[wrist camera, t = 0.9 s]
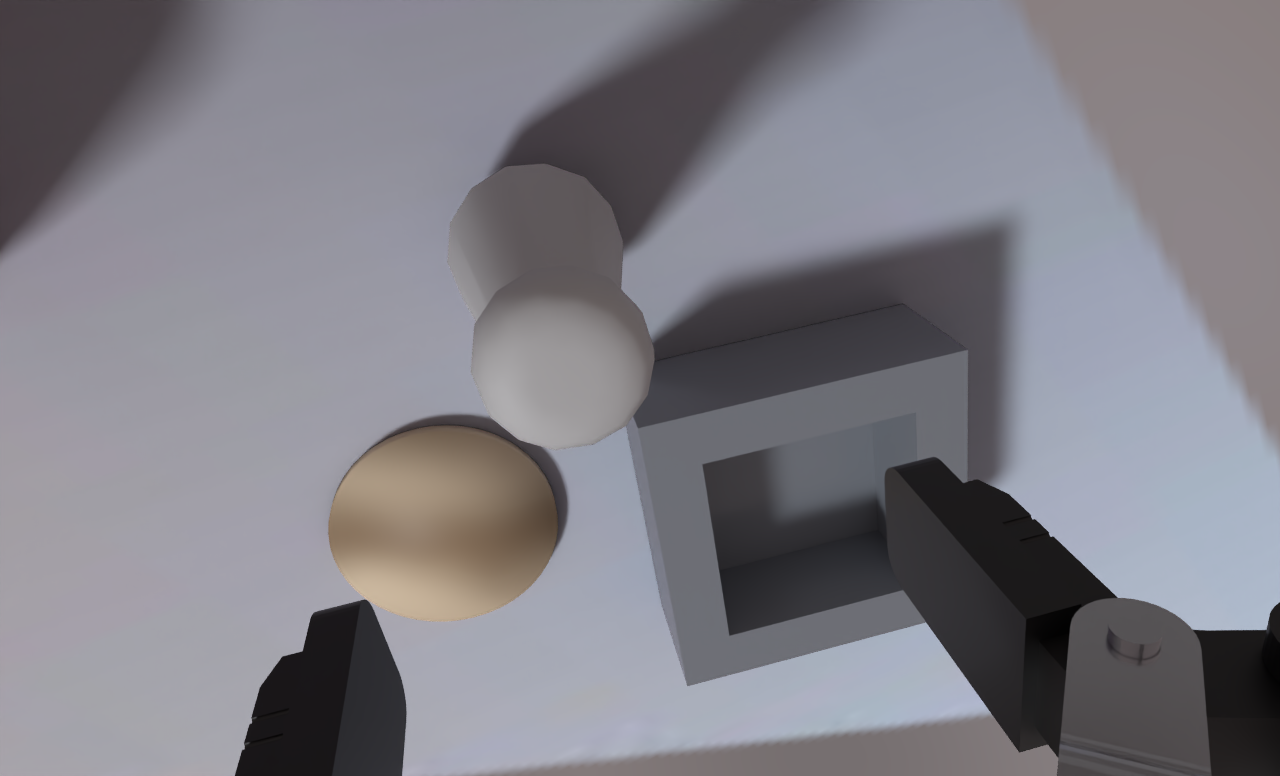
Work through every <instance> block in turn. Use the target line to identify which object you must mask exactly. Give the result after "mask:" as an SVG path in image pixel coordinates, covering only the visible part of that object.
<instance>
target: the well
mask: <svg viewBox="0 0 1280 776" xmlns="http://www.w3.org/2000/svg"><path fill="white" fill-rule="evenodd" d="M626 428H627V433H628V438H629V443H630V448H631V453H632V458H633V463H634V468H635V473H636V478H637V483H638V488H639V493H640V498H641V503H642V508H643V513H644V518H645V523H646V528H647V534H648V539H649V544H650V549H651V554H652V559H653V564H654V569H655V574H656V579H657V584H658V589H659V594H660V599H661V604H662V608H663V611H664V614H665V617H666V621H667V624H668V627H669V630H670V633H671V636H672V639H673V643H674V646H675V649H676V652H677V655H678V658H679V661H680V665H681V668H682V671H683V674H684V677H685V680H686V683H687V686H690V685H694V684H698V683H701V682H705V681H709V680H713V679H716V678H720V677H724V676H727V675H731V674H735V673H739V672H742V671H746V670H750V669H754V668H757V667H761V666H765V665H769V664H772V663H776V662H780V661H783V660H787V659H791V658H795V657H798V656H802V655H806V654H810V653H813V652H817V651H821V650H825V649H828V648H832V647H836V646H839V645H843V644H847V643H851V642H854V641H858V640H862V639H866V638H869V637H873V636H877V635H880V634H884V633H888V632H892V631H895V630H899V629H903V628H907V627H910V626H914V625H918V624H922V623H925V622H926V621H925V620H924V618H923V617H922V616H921V614H920V613H919V611H918V610H917V609H916V607H915V606H914V604H913V603H912V602H911V600H910V599H909V597H908V596H907V595H906V593H905V592H904V590H903V589H902V588H901V586H900V584H899V583H898V581H897V579H896V577H895V574H894V572H893V569H892V566H891V563H890V559H889V555H888V548H887V529H886V507H885V485H884V478H885V472H886V470H887V469H888V468H891V467H895V466H899V465H903V464H907V463H911V462H914V461H918V460H922V459H926V458H930V457H937V458H938V459H940V460H941V461H942V462H943V463H944V464H945V465H946V466H947V467H948V468H949V469H950V470H951V471H952V472H953V473H954V474H955V475H956V476H957V477H958V478H959V479H960V480H961V481H962V482H963V483H965V482H968V349H966V348H965V347H963V346H962V345H961V344H959V343H958V342H956V341H955V340H954V339H952V338H951V337H949V336H948V335H947V334H945V333H944V332H942V331H941V330H940V329H938V328H937V327H935V326H934V325H933V324H931V323H930V322H928V321H927V320H925V319H924V318H923V317H921V316H920V315H918V314H917V313H916V312H914V311H913V310H911V309H910V308H909V307H907V306H906V305H904V304H901V305H896V306H892V307H888V308H883V309H879V310H875V311H870V312H866V313H862V314H857V315H853V316H849V317H844V318H840V319H836V320H831V321H827V322H823V323H818V324H814V325H810V326H806V327H801V328H797V329H793V330H788V331H784V332H780V333H775V334H771V335H767V336H762V337H758V338H754V339H749V340H745V341H741V342H736V343H732V344H728V345H723V346H719V347H715V348H710V349H706V350H702V351H697V352H693V353H689V354H684V355H680V356H676V357H671V358H667V359H663V360H658V361H654V365H653V370H652V376H651V381H650V386H649V391H648V395H647V397H646V398H645V400H644V401H643V403H642V404H641V405H640V407H639V408H638V410H637V411H636V413H635V414H634V415H633V417H632V418H631V420H630V421H629V422H628V424H627V425H626Z"/></svg>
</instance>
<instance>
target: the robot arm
mask: <svg viewBox="0 0 1280 776" xmlns="http://www.w3.org/2000/svg"><path fill="white" fill-rule="evenodd" d="M884 485H885V507H886V529H887V548H888V555H889V559H890V563H891V566H892V569H893V572H894V574H895V577H896V579H897V581H898V583H899V584H900V586H901V588H902V589H903V590H904V592H905V593H906V595H907V596H908V597H909V599H910V600H911V602H912V603H913V604H914V606H915V607H916V609H917V610H918V611H919V613H920V614H921V616H922V617H923V618H924V620H925V621H926V623H927V624H928V625H929V627H930V628H931V630H932V631H933V632H934V634H935V635H936V637H937V638H938V639H939V641H940V642H941V644H942V645H943V646H944V648H945V649H946V651H947V652H948V653H949V655H950V656H951V658H952V659H953V660H954V662H955V663H956V665H957V666H958V667H959V669H960V670H961V672H962V673H963V674H964V676H965V677H966V679H967V680H968V681H969V683H970V684H971V686H972V687H973V688H974V690H975V691H976V693H977V694H978V695H979V697H980V698H981V700H982V701H983V702H984V704H985V705H986V707H987V708H988V709H989V711H990V712H991V714H992V715H993V716H994V718H995V719H996V721H997V722H998V723H999V725H1000V726H1001V728H1002V729H1003V730H1004V732H1005V733H1006V734H1007V736H1008V737H1009V739H1010V740H1011V742H1013V744H1014V746H1015V747H1016V748H1017V750H1018V751H1019V752H1023V751H1026V750H1030V749H1033V748H1037V747H1040V746H1043V745H1047V744H1048V745H1049V746H1050V748H1051V749H1052V750H1053V752H1054V753H1055V754H1056V756H1057V757H1058V769H1057V776H1280V603H1278V604H1277V605H1276V606H1275V607H1274V608H1273V610H1272V611H1271V613H1270V617H1269V621H1268V626H1267V630H1222V631H1205V630H1192V629H1191V627H1190V626H1189V625H1187V624H1186V623H1185V622H1184V621H1183V620H1182V619H1180V618H1179V617H1178V616H1176V615H1175V614H1173V613H1171V612H1169V611H1168V610H1166V609H1164V608H1161V607H1159V606H1157V605H1154V604H1151V603H1148V602H1144V601H1139V600H1135V599H1127V598H1117V597H1116V596H1115V595H1114V594H1113V593H1112V592H1111V591H1110V590H1109V589H1108V588H1107V587H1106V586H1105V585H1104V584H1103V583H1102V582H1101V581H1100V580H1098V579H1097V578H1096V577H1095V576H1094V575H1093V574H1092V573H1091V572H1090V571H1089V570H1088V569H1087V568H1086V567H1085V566H1084V565H1083V564H1082V563H1081V562H1080V561H1079V560H1077V559H1076V558H1075V557H1074V556H1073V555H1072V554H1071V553H1070V552H1069V551H1068V550H1067V549H1066V548H1065V547H1064V546H1063V545H1062V544H1061V543H1060V542H1059V541H1058V540H1056V539H1055V538H1054V537H1050V535H1049V532H1048V531H1047V530H1046V529H1045V528H1044V527H1043V526H1042V525H1041V524H1040V523H1039V522H1038V521H1037V520H1035V519H1034V520H1032V518H1031V515H1030V514H1029V513H1028V512H1027V511H1026V510H1025V509H1024V508H1023V507H1022V506H1021V505H1020V504H1019V503H1018V502H1017V501H1015V500H1014V499H1013V498H1012V497H1011V496H1010V495H1009V494H1007V493H1005V492H1003V491H1001V490H999V489H997V488H995V487H992V486H990V485H988V484H986V483H984V482H982V481H980V480H973V481H969V482H965V483H963V482H962V481H961V480H960V479H959V478H958V477H957V476H956V475H955V474H954V473H953V472H952V471H951V470H950V469H949V468H948V467H947V466H946V465H945V464H944V463H943V462H942V461H941V460H940V459H938V458H937V457H930V458H926V459H922V460H918V461H914V462H911V463H907V464H903V465H899V466H895V467H891V468H888V469H887V470H886V472H885V478H884ZM405 729H406V700H405V693H404V688H403V684H402V680H401V677H400V674H399V671H398V669H397V666H396V664H395V661H394V659H393V656H392V654H391V652H390V649H389V647H388V644H387V642H386V639H385V637H384V634H383V632H382V630H381V627H380V625H379V622H378V620H377V617H376V615H375V612H374V610H373V608H372V606H371V604H370V603H369V602H368V601H367V600H361V601H357V602H353V603H349V604H345V605H341V606H337V607H333V608H329V609H325V610H321V611H317V612H314V613H313V615H312V616H311V619H310V623H309V627H308V632H307V636H306V640H305V644H304V648H303V651H302V652H299V653H295V654H291V655H287V656H283V657H282V658H281V659H280V661H279V662H278V663H277V665H276V666H275V668H274V669H273V670H272V672H271V673H270V674H269V676H268V677H267V679H266V680H265V681H264V683H263V684H262V685H261V687H260V689H259V693H258V697H257V700H256V704H255V707H254V711H253V714H252V724H250V725H249V728H248V732H247V735H246V739H245V742H244V745H245V750H242V753H241V756H240V760H239V763H238V767H237V770H236V774H235V776H402V768H403V755H404V742H405Z"/></svg>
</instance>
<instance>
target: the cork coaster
mask: <svg viewBox="0 0 1280 776" xmlns="http://www.w3.org/2000/svg"><path fill="white" fill-rule="evenodd" d="M557 531H558V516H557V510H556V505H555V499H554V495H553V492H552V489H551V486H550V484H549V482H548V480H547V478H546V476H545V474H544V473H543V472H542V470H541V469H540V467H539V466H538V465H537V464H536V462H535V461H534V460H533V459H532V458H531V457H530V456H529V455H528V454H527V453H525V452H524V451H523V450H521V449H520V448H519V447H518V446H516V445H514V444H513V443H511V442H509V441H508V440H506V439H504V438H502V437H500V436H497V435H495V434H493V433H490V432H487V431H483V430H480V429H476V428H471V427H465V426H453V425H440V426H428V427H422V428H417V429H413V430H409V431H406V432H403V433H400V434H397V435H395V436H393V437H390V438H388V439H386V440H384V441H383V442H381V443H379V444H377V445H376V446H374V447H373V448H371V449H370V450H369V451H367V452H366V453H365V454H364V455H362V456H361V457H360V458H359V459H358V460H357V461H356V462H355V463H354V464H353V465H352V467H351V468H350V469H349V471H348V472H347V473H346V475H345V476H344V477H343V479H342V481H341V483H340V485H339V487H338V489H337V492H336V494H335V497H334V500H333V503H332V507H331V512H330V517H329V533H328V535H329V542H330V548H331V551H332V554H333V557H334V560H335V562H336V564H337V566H338V568H339V570H340V572H341V573H342V574H343V576H344V577H345V579H346V580H347V581H348V583H349V584H350V585H351V586H352V587H353V588H354V589H355V590H356V591H357V592H358V593H360V594H361V595H362V596H363V597H364V598H366V599H367V600H369V601H370V602H372V603H373V604H375V605H377V606H378V607H380V608H383V609H385V610H387V611H389V612H391V613H394V614H397V615H400V616H403V617H407V618H412V619H416V620H424V621H456V620H463V619H468V618H473V617H477V616H480V615H483V614H486V613H489V612H491V611H494V610H496V609H498V608H500V607H502V606H504V605H506V604H508V603H509V602H511V601H513V600H514V599H515V598H517V597H518V596H520V595H521V594H522V593H524V592H525V591H526V590H527V589H528V588H529V587H530V586H531V585H532V584H533V583H534V582H535V581H536V579H537V578H538V577H539V576H540V575H541V573H542V572H543V570H544V569H545V567H546V565H547V564H548V562H549V560H550V557H551V555H552V553H553V550H554V547H555V543H556V538H557Z"/></svg>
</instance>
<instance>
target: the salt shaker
mask: <svg viewBox="0 0 1280 776" xmlns="http://www.w3.org/2000/svg"><path fill="white" fill-rule="evenodd" d="M622 260H623V240H622V237H621V234H620V231H619V228H618V225H617V222H616V219H615V216H614V213H613V210H612V207H611V206H610V204H609V203H608V202H607V201H606V200H605V199H604V198H603V197H602V196H601V194H600V193H599V192H598V191H597V190H596V189H595V188H594V187H593V186H592V185H591V183H590V182H589V181H588V180H587V179H586V178H585V177H583V176H580V175H577V174H574V173H571V172H569V171H566V170H563V169H560V168H557V167H554V166H551V165H549V164H531V165H519V166H506V167H504V168H503V169H501V170H499V171H498V172H496V173H495V174H493V175H492V176H490V177H489V178H487V179H485V180H484V181H482V182H481V183H479V184H478V185H476V186H474V187H473V188H472V189H471V190H470V192H469V193H468V195H467V196H466V198H465V200H464V201H463V203H462V205H461V206H460V208H459V209H458V211H457V213H456V214H455V216H454V217H453V219H452V221H451V222H450V232H449V246H448V261H447V262H448V265H449V267H450V270H451V272H452V274H453V277H454V279H455V282H456V284H457V287H458V289H459V292H460V294H461V296H462V299H463V300H464V302H465V304H466V305H467V307H468V309H469V311H470V312H471V314H472V316H473V318H474V319H475V321H476V323H475V326H474V336H473V349H472V362H471V374H472V376H473V379H474V381H475V383H476V386H477V388H478V391H479V393H480V396H481V398H482V400H483V403H484V405H485V408H486V410H487V412H488V414H489V416H490V417H491V418H492V419H493V420H495V421H496V422H497V423H498V424H499V425H501V426H502V427H503V428H504V429H506V430H507V431H508V432H509V433H511V434H512V435H513V436H514V437H516V438H517V439H518V440H520V441H524V442H527V443H531V444H534V445H538V446H542V447H545V448H549V449H553V450H561V449H567V448H574V447H580V446H587V445H593V444H595V443H597V442H599V441H600V440H602V439H604V438H606V437H607V436H609V435H611V434H612V433H614V432H616V431H618V430H619V429H621V428H623V427H624V426H626V425H627V424H628V422H629V421H630V420H631V418H632V417H633V415H634V414H635V413H636V411H637V410H638V408H639V407H640V405H641V404H642V403H643V401H644V400H645V398H646V397H647V395H648V391H649V386H650V381H651V376H652V370H653V365H654V360H655V357H654V347H653V344H652V341H651V338H650V335H649V332H648V329H647V326H646V323H645V319H644V316H643V313H642V312H641V310H640V309H639V308H638V307H637V306H636V304H635V303H634V302H633V301H632V300H631V299H630V298H629V297H628V296H627V295H626V294H625V293H624V292H623V291H622V290H621V280H622Z"/></svg>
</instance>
